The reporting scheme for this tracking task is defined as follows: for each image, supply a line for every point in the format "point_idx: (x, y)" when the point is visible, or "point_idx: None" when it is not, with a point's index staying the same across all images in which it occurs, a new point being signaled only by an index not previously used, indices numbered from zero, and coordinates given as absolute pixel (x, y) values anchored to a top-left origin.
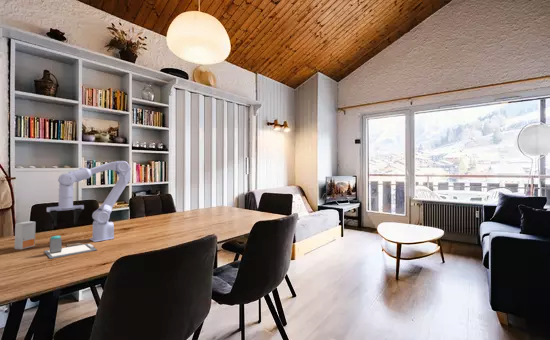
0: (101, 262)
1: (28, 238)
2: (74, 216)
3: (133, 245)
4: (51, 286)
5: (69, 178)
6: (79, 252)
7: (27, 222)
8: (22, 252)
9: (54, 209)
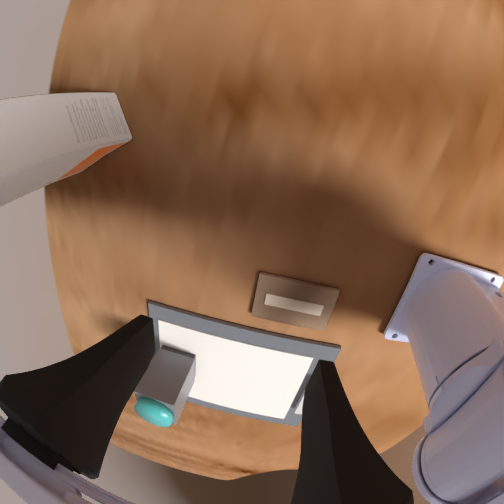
0: (245, 467)
1: (66, 170)
2: (319, 441)
3: (392, 442)
4: (154, 460)
5: None
6: (242, 414)
7: None
8: (85, 232)
9: (42, 476)
